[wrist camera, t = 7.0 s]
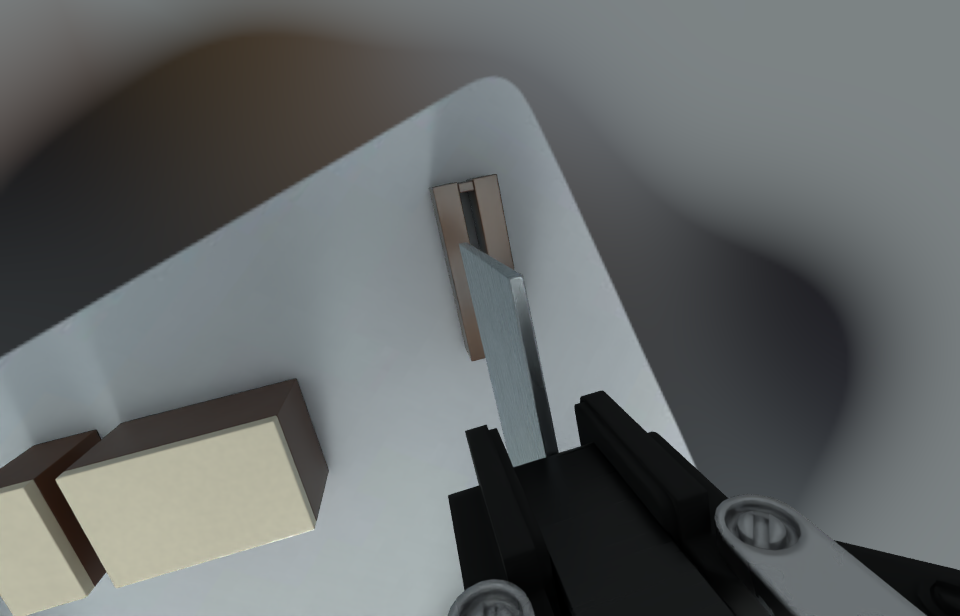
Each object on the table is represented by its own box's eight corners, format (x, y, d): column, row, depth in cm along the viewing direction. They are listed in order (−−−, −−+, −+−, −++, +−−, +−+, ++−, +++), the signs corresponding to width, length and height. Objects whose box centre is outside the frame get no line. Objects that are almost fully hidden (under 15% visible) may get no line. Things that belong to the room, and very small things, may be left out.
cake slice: (33, 445, 30) (-58, 508, 24) (96, 429, 31) (22, 487, 25) (85, 539, 33) (14, 619, 27) (143, 523, 33) (87, 597, 27)
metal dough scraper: (435, 249, 16) (535, 376, 4) (489, 236, 16) (721, 323, 5) (494, 487, 18) (655, 962, 7) (541, 473, 19) (771, 908, 7)
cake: (120, 422, 31) (53, 479, 25) (296, 377, 33) (273, 420, 26) (166, 516, 33) (115, 589, 27) (329, 470, 35) (314, 529, 29)
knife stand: (429, 187, 31) (432, 187, 28) (487, 175, 31) (497, 173, 29) (465, 347, 34) (471, 361, 31) (518, 333, 35) (528, 346, 32)
